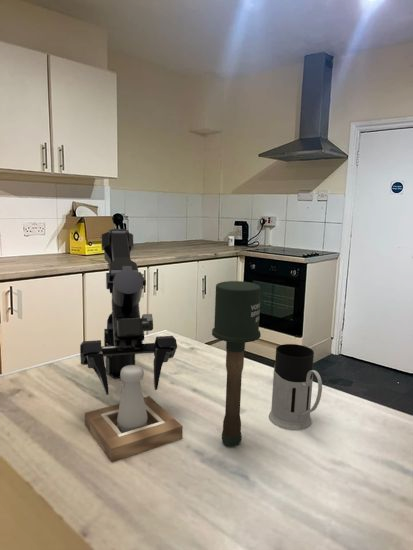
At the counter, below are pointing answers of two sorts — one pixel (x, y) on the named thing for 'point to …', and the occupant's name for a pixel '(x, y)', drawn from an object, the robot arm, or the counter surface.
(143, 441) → the socket board
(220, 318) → the potato masher grenade
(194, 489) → the counter surface
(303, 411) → the glass holder
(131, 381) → the salt shaker
